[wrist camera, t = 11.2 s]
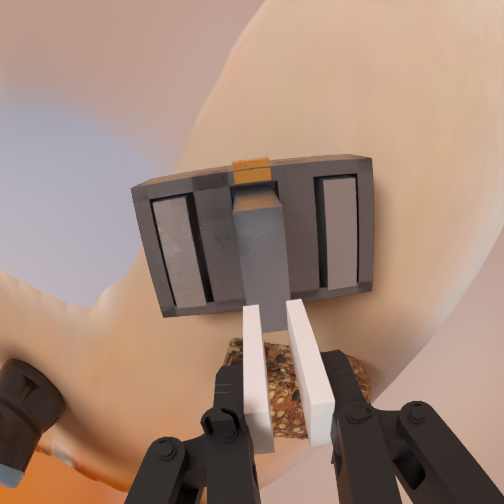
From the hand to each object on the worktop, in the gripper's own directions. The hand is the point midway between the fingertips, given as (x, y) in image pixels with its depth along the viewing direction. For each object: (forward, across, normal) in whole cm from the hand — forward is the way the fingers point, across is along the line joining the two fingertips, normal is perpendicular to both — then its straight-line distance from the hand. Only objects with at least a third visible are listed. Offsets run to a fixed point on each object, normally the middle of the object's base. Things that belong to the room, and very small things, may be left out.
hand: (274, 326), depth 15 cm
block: (+15, 0, 0) cm, 15 cm away
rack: (+18, 0, 0) cm, 18 cm away
